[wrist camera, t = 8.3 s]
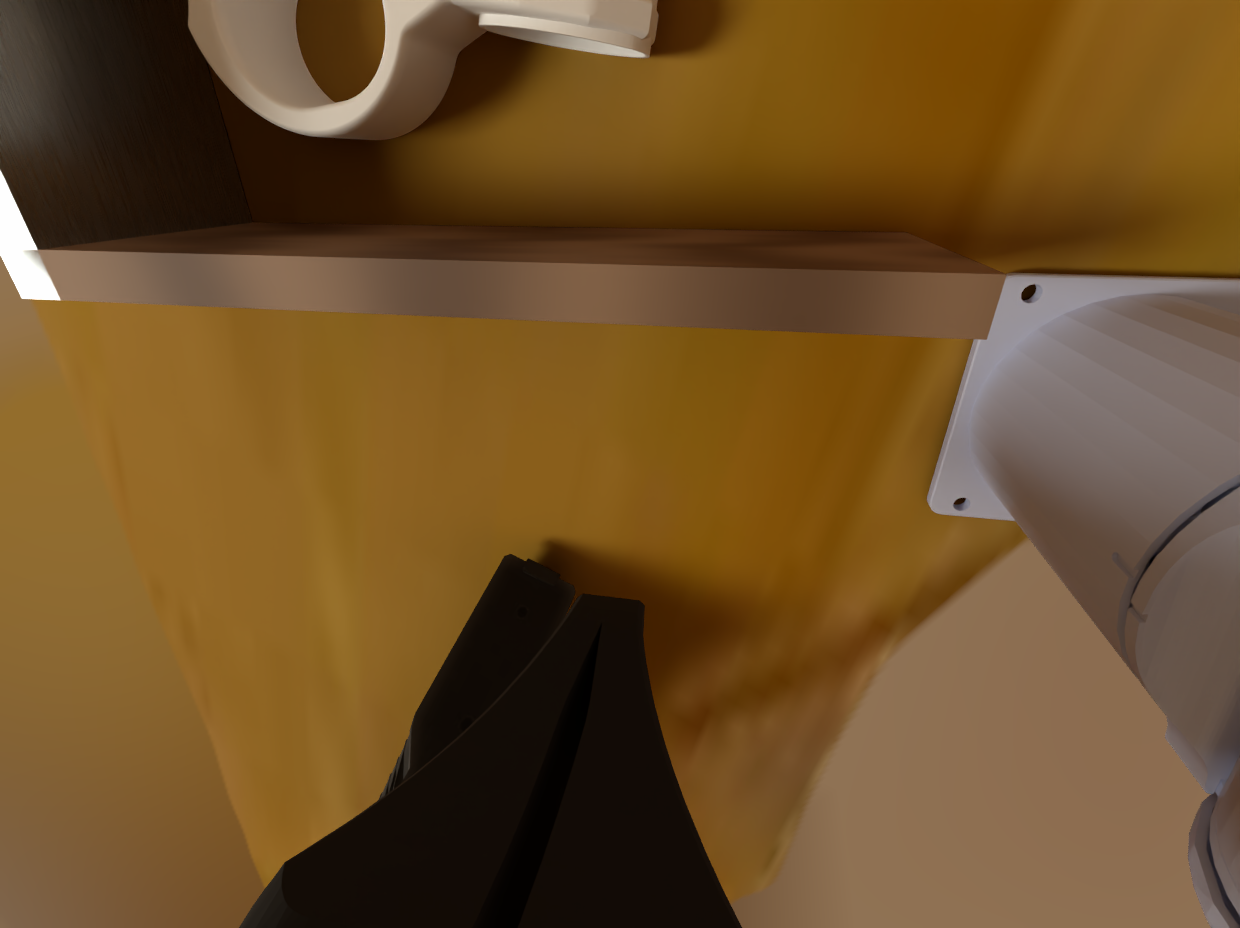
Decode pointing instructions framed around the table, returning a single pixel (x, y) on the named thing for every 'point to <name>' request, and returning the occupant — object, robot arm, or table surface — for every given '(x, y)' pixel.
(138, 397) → the table surface
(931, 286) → the shelf wall
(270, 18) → the white multi-hole holder
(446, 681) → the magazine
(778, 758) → the table surface
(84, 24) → the bookend
